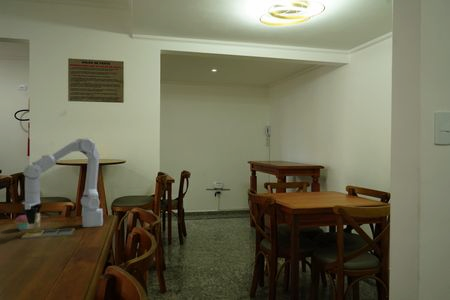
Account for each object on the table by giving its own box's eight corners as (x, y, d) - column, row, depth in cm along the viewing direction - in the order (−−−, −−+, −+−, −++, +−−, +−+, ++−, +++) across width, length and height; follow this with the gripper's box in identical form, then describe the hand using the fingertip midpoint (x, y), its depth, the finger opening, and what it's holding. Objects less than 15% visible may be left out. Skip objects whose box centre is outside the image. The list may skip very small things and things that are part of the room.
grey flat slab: (75, 231, 153) (75, 228, 153) (71, 236, 144) (71, 233, 144) (27, 234, 147) (27, 231, 147) (20, 240, 138) (20, 237, 138)
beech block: (40, 225, 146) (40, 212, 146) (37, 228, 142) (37, 214, 142) (30, 226, 145) (30, 213, 145) (27, 228, 141) (27, 215, 141)
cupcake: (39, 227, 160) (38, 203, 160) (27, 231, 152) (27, 206, 151) (22, 226, 161) (22, 203, 160) (10, 231, 152) (9, 206, 152)
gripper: (27, 190, 149) (28, 219, 150) (16, 195, 135) (17, 227, 136) (44, 189, 151) (45, 218, 152) (35, 194, 137) (35, 225, 138)
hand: (33, 222), depth 144 cm, fingers closed on beech block, 4 cm apart
